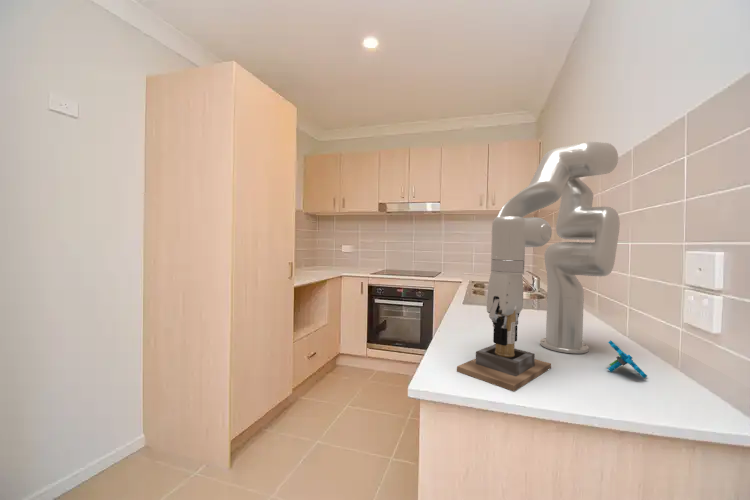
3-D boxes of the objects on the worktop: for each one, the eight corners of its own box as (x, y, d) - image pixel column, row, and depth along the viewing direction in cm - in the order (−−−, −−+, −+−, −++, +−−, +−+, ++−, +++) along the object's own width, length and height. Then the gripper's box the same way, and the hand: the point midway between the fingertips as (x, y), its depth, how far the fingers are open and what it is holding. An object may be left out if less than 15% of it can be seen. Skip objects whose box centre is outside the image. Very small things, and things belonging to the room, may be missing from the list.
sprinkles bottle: (491, 354, 80) (493, 299, 80) (500, 350, 83) (502, 298, 83) (509, 359, 77) (511, 302, 76) (518, 355, 80) (520, 300, 80)
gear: (653, 379, 72) (614, 340, 76) (629, 393, 74) (592, 355, 78) (645, 370, 81) (611, 336, 86) (624, 383, 83) (591, 349, 87)
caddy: (497, 353, 92) (498, 338, 92) (550, 368, 82) (551, 351, 81) (456, 371, 79) (457, 353, 78) (514, 391, 68) (514, 371, 68)
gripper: (508, 265, 88) (506, 333, 88) (474, 267, 77) (472, 345, 77) (537, 267, 82) (535, 339, 83) (505, 269, 71) (503, 353, 71)
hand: (505, 341), depth 80 cm, fingers closed on sprinkles bottle, 4 cm apart
